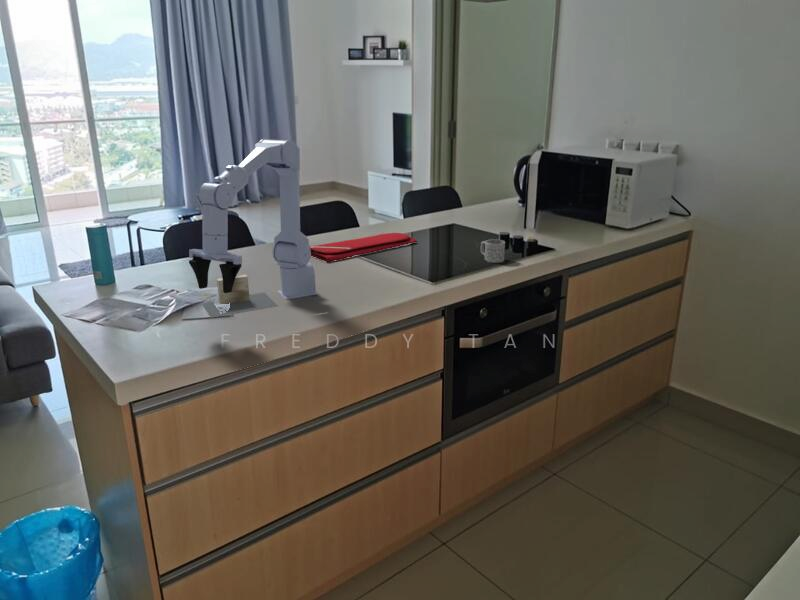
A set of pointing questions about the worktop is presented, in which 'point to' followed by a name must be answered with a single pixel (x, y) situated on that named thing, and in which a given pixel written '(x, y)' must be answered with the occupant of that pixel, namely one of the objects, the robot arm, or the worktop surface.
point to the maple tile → (234, 290)
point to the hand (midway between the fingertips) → (215, 290)
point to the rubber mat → (241, 305)
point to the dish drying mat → (359, 246)
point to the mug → (493, 250)
